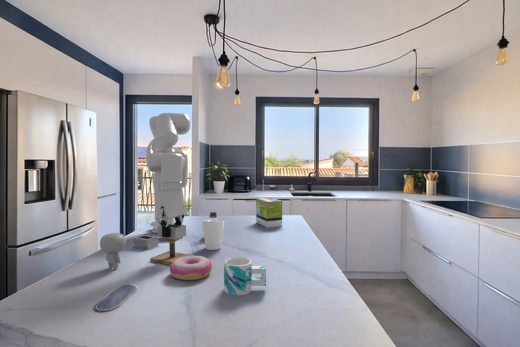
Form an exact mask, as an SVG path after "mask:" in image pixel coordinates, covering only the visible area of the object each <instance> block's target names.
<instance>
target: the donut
mask: <svg viewBox="0 0 520 347" xmlns="http://www.w3.org/2000/svg"><path fill="white" fill-rule="evenodd" d="M212 267H213V264H212V262H211V260H210V259H209V258H207V257H205V256H202V255H194V256H186V257H181V258H178V259H176V260H175V261H173V262H172V263H171V265H169V272H170V275H171V276H172V277H174V278H176V279H177V280H182V281H197V280H201V279H203V278H206V277H208V275H209V274H210V273H211V271H212V269H213V268H212Z"/></svg>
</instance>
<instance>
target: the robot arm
mask: <svg viewBox="0 0 520 347" xmlns="http://www.w3.org/2000/svg"><path fill="white" fill-rule="evenodd" d="M148 121H149V129H150V131H151V134H152V136H153V138H152V140H151V141H150V142H149V143H148V144H147V147H146V151H145V152H146V156H145V157H146V160H145V161H146V162H145V163H146V167H147V170H148V171H149V172H151V173H152V177H151V179H152V185H153V192H154V193H153V196H154V199H153V200H154V221H152V222H151V223H150V224H149V226H150V227H152V229H151V233H153V234H158V226H162V237H167V238H169V237H170V226H169V223H170V224H178V225H183V222H184V218H185V216H186V214H187V210H186V209H185V198H184V197H185V196H184V191H183V188H184V189H185V188H186V187H187V185H188V180H189V179H188V178H189V176H188V174H189V173H188V171H189V170H188V168H189V159H188V158H189V157H188V153H187V151H186V150H184V149H176V148H175V149H174V146H175V145H177V143H178V141H179V136H178V135H180V136H181V135H182V136H183V135H186V134H188V133H189V131H190V130H191V120H190V118H189V116H188V115H187V114H186V113H178V112H175V113H174V112H162V113H159V114H158V115H155V116H151V117H150V118H149V120H148Z"/></svg>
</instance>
